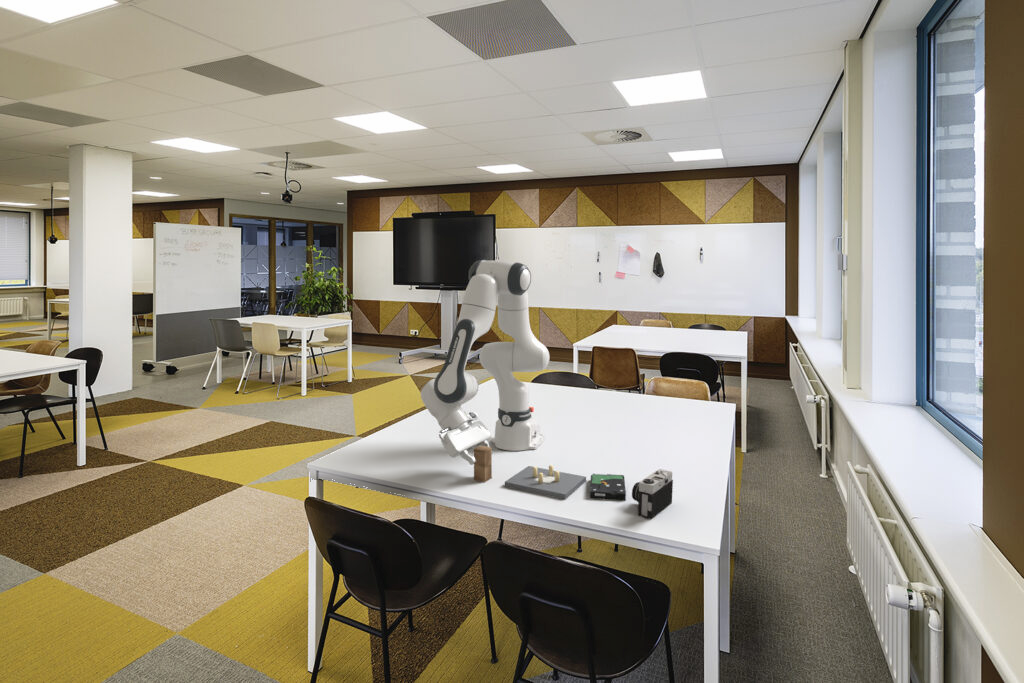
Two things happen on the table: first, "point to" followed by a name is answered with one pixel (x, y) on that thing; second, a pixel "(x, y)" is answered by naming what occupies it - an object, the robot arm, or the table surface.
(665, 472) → the camera
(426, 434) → the table surface
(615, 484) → the disk drive
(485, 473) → the walnut block
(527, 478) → the standoff plate
